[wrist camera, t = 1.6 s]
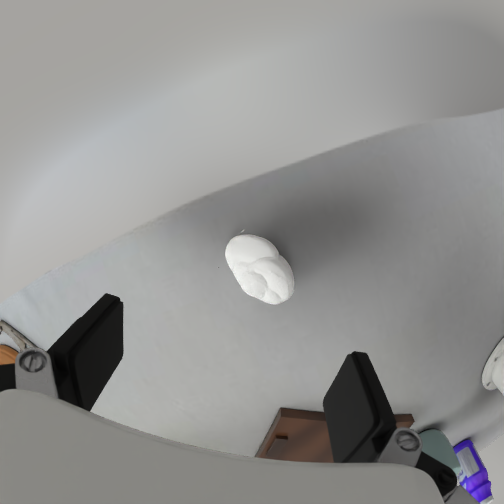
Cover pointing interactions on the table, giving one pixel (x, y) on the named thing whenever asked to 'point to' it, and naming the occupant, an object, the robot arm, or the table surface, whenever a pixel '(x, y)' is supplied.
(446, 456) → the cup
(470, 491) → the bottle
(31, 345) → the nutcracker
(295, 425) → the bread board
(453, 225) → the table surface
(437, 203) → the table surface
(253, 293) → the dumpling
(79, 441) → the robot arm
